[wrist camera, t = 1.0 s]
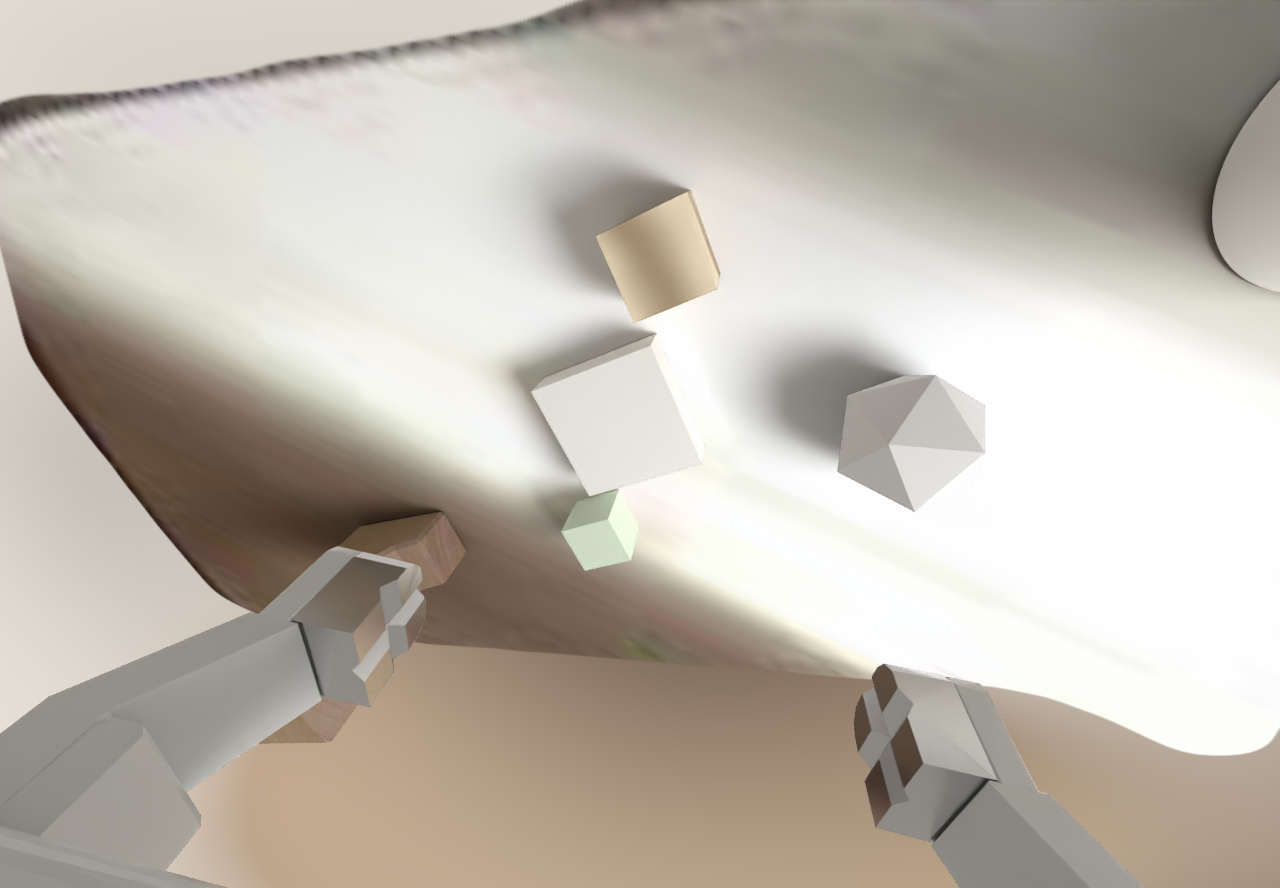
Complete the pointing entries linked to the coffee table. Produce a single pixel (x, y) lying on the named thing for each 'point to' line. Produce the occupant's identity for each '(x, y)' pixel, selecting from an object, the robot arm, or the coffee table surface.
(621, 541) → the sage cube
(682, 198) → the beech cube
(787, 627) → the coffee table surface
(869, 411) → the die
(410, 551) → the decorative block
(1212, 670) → the coffee table surface
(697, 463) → the foundation slab
